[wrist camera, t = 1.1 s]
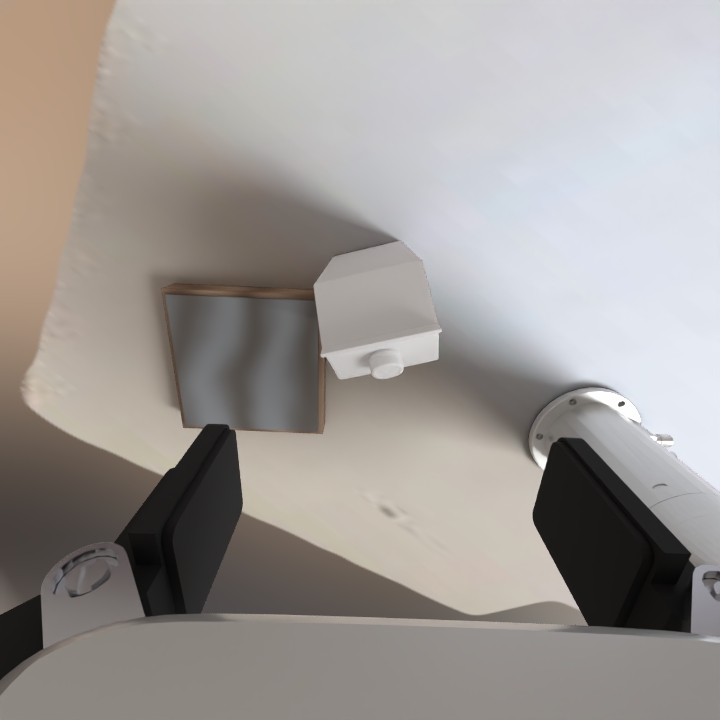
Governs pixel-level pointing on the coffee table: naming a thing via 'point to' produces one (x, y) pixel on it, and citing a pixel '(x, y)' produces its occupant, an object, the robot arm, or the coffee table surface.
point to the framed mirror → (247, 357)
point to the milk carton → (376, 312)
